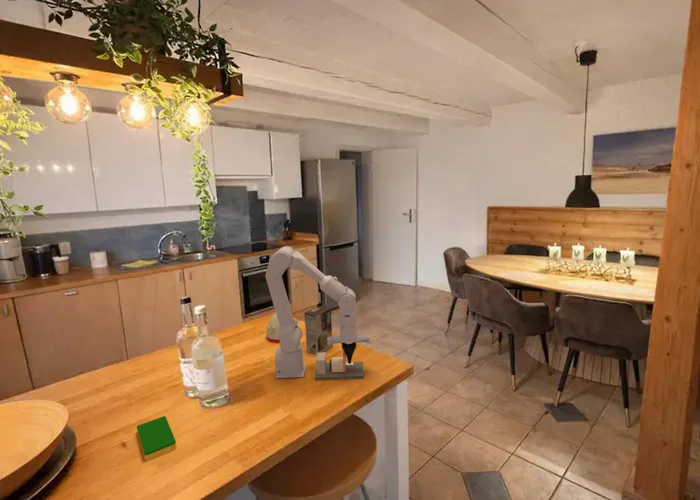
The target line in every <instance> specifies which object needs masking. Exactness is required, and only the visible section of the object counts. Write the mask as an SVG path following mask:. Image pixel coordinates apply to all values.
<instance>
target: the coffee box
mask: <svg viewBox="0 0 700 500" xmlns="http://www.w3.org/2000/svg"><path fill="white" fill-rule="evenodd" d="M304 326H305V341H306V351H307V352H308V353H311V354H314V355H317V353H325V352H326V351H327V350H329V349H331V348H332V347H333V345H334V344H330V345H328V343H327V338H328V337H333V329H332V311H331V308H328V307H325V306H322V305H321V306H320V305H318V306H316V307H314V308H312V309H310V310H307V311H306V312H304Z"/></svg>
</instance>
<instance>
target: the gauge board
mask: <svg viewBox="0 0 700 500" xmlns="http://www.w3.org/2000/svg"><path fill="white" fill-rule="evenodd" d="M315 365H316V366H315V373H314V374H315V375H314V381H330V380H331V381H332V380H334V381H335V380H336V381H337V380H359V379H361V380H362V379H365V372H364V371H365V370H364V362H363V361H351V364H348V361H346V373H344V372H332V370H330V368H329V362H327V353H326V351H324V352H323V353H317V354H316V357H315Z"/></svg>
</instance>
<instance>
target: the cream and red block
mask: <svg viewBox="0 0 700 500" xmlns="http://www.w3.org/2000/svg"><path fill="white" fill-rule="evenodd" d="M346 362H347V357H346V354H345V352H344V350H343V349H342V356H336V357H335V356H334V357H333V356H332V357H331V359H330V360H329V362H328V363H329V368H330V370H332V372H344V373H346Z"/></svg>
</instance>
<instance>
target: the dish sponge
mask: <svg viewBox="0 0 700 500" xmlns="http://www.w3.org/2000/svg"><path fill="white" fill-rule="evenodd" d="M136 431H137V435H138V436H137V437H138V440H139V442H140V443H139V444H140V446H141V447H140V448H141V450H142V454H143V458H144V461H149V460H152V459H155V458H157V457H159V456H161V455H165V454H167V453H169V452H172V451H174V450H176V449H177V447H178V446H177V441H176V437H174V436H175V435H174V434H173V431H172V429H171V427H170V424H169V421H168V419H167V417H166V416H165V415H164V416H161V417H158V418H155V419H153V420H150V421H146V422H144V423H140V424H137V426H136Z"/></svg>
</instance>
